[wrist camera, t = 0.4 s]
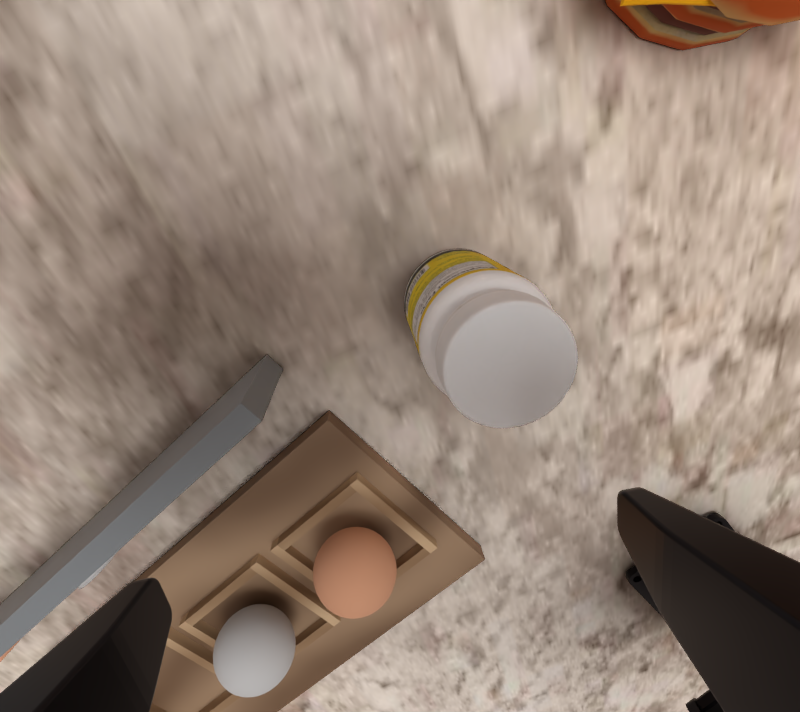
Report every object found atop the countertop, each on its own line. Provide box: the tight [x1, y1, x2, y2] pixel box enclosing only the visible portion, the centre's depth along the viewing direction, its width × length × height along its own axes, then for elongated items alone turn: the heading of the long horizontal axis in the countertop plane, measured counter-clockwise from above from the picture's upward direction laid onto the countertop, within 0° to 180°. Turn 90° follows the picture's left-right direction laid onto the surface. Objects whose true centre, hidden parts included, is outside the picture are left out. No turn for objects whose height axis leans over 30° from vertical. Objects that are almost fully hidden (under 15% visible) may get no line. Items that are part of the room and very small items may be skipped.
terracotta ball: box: [313, 527, 397, 619], centre depth 22 cm, size 4×4×4 cm
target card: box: [0, 355, 283, 662], centre depth 21 cm, size 1×22×5 cm, turn 132°
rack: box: [135, 410, 485, 712], centre depth 26 cm, size 12×22×2 cm, turn 132°
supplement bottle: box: [404, 249, 578, 428], centre depth 17 cm, size 5×5×8 cm
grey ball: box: [213, 604, 296, 697], centre depth 24 cm, size 4×4×4 cm
